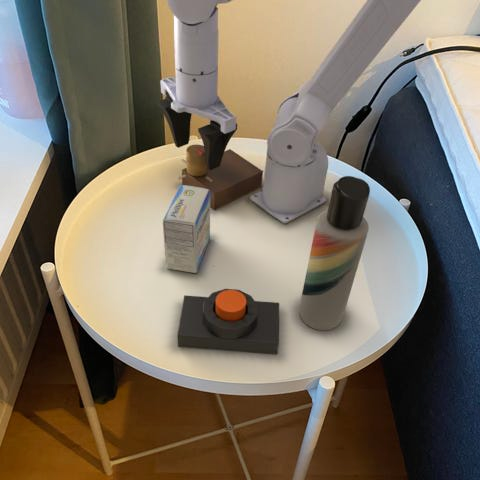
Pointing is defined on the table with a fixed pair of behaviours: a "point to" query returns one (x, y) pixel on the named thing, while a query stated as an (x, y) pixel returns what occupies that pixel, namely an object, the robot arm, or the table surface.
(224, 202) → the dial panel
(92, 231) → the table surface
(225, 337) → the switch base
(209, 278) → the table surface
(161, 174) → the table surface
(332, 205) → the lotion bottle
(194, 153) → the dial
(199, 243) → the medicine box
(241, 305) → the button
